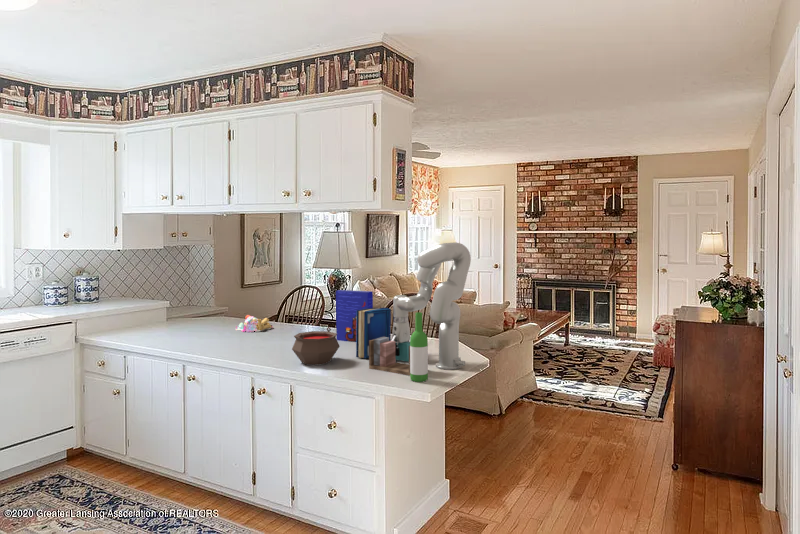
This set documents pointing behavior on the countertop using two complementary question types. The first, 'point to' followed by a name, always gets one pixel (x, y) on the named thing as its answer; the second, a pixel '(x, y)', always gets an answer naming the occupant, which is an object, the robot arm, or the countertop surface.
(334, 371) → the countertop surface
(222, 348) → the countertop surface
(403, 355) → the teal book
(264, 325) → the candy landscape model
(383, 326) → the book
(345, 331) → the cereal box
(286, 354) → the countertop surface
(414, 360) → the wine bottle
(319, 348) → the brown bowl
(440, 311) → the robot arm
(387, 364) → the shelf
